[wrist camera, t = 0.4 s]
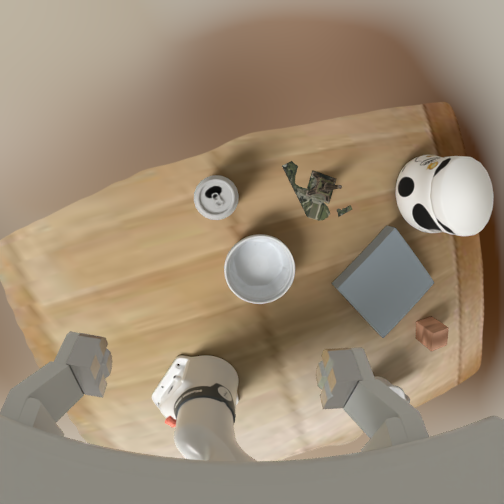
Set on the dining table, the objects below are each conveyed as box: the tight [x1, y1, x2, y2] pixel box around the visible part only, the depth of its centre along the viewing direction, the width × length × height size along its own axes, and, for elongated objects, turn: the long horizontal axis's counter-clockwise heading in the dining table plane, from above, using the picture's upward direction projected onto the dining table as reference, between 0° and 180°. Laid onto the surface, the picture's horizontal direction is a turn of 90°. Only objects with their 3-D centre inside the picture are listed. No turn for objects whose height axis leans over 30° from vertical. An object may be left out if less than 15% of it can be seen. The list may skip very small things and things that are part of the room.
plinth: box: [332, 226, 434, 338], centre depth 66 cm, size 18×18×4 cm
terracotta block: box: [416, 316, 448, 351], centre depth 68 cm, size 5×5×8 cm
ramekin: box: [224, 234, 295, 304], centre depth 62 cm, size 13×13×7 cm
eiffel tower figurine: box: [282, 161, 352, 221], centre depth 57 cm, size 15×10×13 cm
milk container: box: [396, 155, 493, 236], centre depth 57 cm, size 17×17×18 cm
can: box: [194, 175, 239, 220], centre depth 56 cm, size 8×8×12 cm
